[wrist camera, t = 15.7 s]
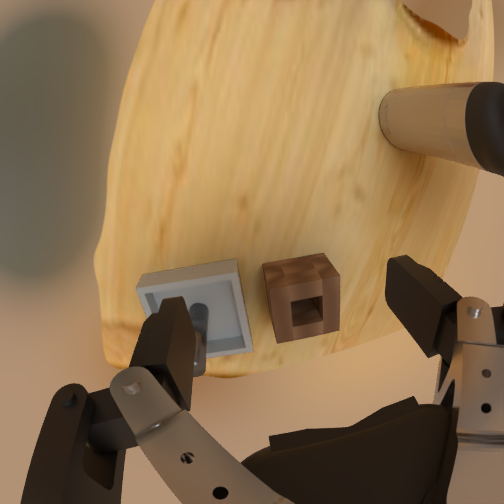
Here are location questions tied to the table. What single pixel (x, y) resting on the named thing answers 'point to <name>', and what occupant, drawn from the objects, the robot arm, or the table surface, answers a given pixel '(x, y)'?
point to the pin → (200, 336)
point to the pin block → (303, 297)
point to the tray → (205, 301)
